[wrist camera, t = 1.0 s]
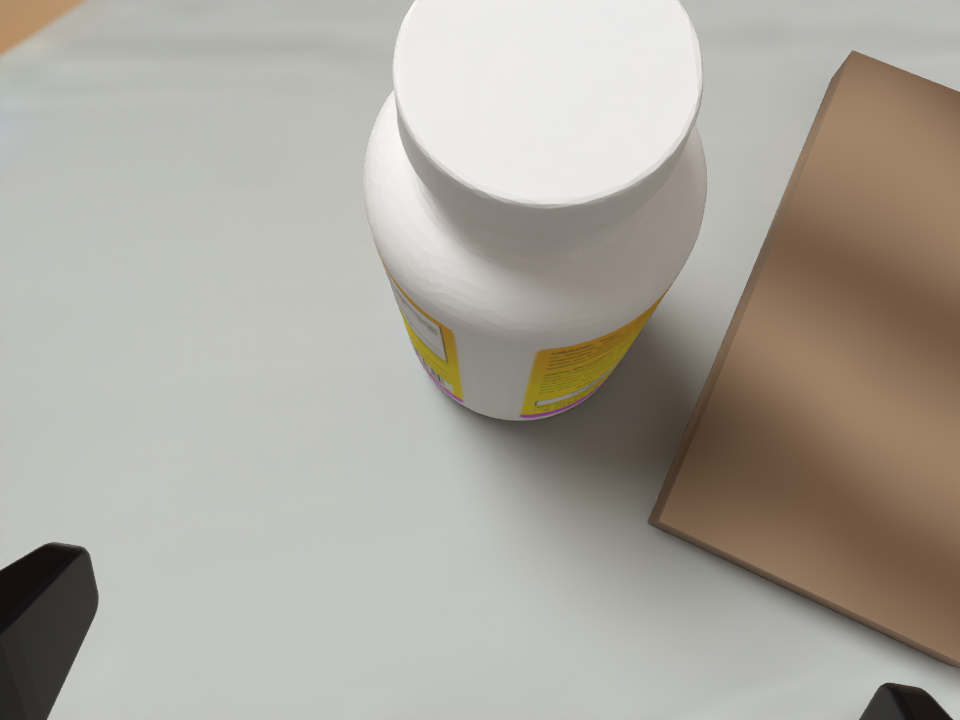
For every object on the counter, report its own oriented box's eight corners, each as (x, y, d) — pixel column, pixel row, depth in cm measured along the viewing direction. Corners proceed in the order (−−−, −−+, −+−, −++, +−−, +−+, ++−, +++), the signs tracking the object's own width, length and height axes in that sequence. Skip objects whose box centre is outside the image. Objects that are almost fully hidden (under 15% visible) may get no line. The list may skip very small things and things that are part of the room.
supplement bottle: (650, 253, 24) (824, -56, 12) (589, 454, 23) (716, 338, 11) (448, 192, 25) (414, -166, 13) (377, 383, 24) (257, 194, 11)
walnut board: (950, 665, 22) (983, 673, 20) (647, 522, 22) (659, 521, 21) (1099, 184, 25) (1137, 161, 24) (831, 78, 26) (852, 50, 24)
